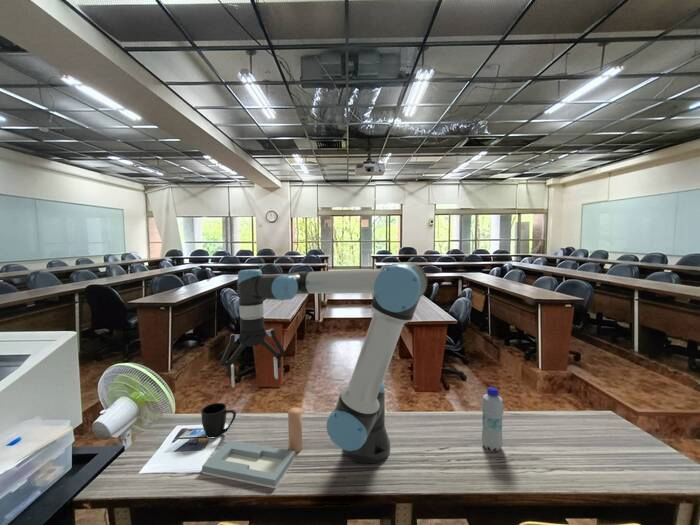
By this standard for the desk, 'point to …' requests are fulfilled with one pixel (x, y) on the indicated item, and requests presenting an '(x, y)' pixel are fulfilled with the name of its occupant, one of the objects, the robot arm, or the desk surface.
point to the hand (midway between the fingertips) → (255, 381)
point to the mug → (215, 419)
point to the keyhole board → (250, 463)
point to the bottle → (492, 419)
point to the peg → (295, 429)
